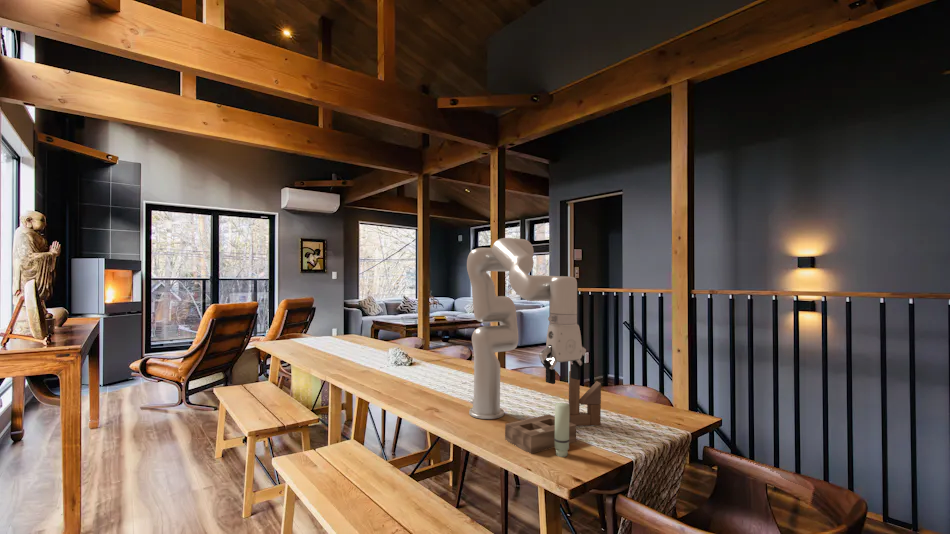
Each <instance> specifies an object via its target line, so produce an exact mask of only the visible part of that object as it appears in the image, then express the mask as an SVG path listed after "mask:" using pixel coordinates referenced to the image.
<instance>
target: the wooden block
mask: <svg viewBox="0 0 950 534" xmlns="http://www.w3.org/2000/svg"><path fill="white" fill-rule="evenodd" d="M580 383H581V379H580V380H576V379H572V378H571V370H569V372H568V404H569V422H570V423H573V424H575V425H576V427H581V426H591V425H594V426H600V425H601V424H602V423H601V421H602V420H601V417H602V416H601V415H602V414H601V412H602V411H601V410H602V408H601V407H602V405H601V404H602V403H601V402H602V383H601V382H599V381H597V380H596V381H595V382H594V384H592V385H591V386H590V387H589V389H587V391H586V392H585V393H584V394H583V395H581V396H580V394H581V393H580V391H581V387H580ZM580 405H582V406H583V405H586V409H587V410H586V412H582V411H580Z"/></svg>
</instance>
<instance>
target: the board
mask: <svg viewBox="0 0 950 534" xmlns="http://www.w3.org/2000/svg"><path fill="white" fill-rule="evenodd" d="M504 433H505V434H504V440H507V441H508V443H509V442H510V443H509V444H511V443H512V444H511V445H513V444H514V446H515V445H516V446H515V447H517V448H519V449H521V450H523V451H525V452H527V453H528V452H529V453H528V454H530V453H531V454H536V453H539V452H542V451H546V450H550V449H555V440H554V437H555V415H552V414H545V415H540V416H536V417H531V418H526V419H521V420H518V421H512V422H509V423H505V424H504ZM507 441H506V442H507ZM575 442H577V426H576V425H575V424H573V423H570V422H569V444H572V443H575ZM531 454H530V455H531Z"/></svg>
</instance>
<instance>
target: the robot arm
mask: <svg viewBox="0 0 950 534" xmlns="http://www.w3.org/2000/svg"><path fill="white" fill-rule="evenodd" d="M534 250H535V249H534V247H533V245H532V243H531V242H530V241H529V240H527V239H524V238H512V237H503V238H502V237H501V238H499V239H497V240H496V241H494V243H493V245H492V247H477V248H475V249H472V250H470V252H469V254H468V256H467V259H466V269H467V274H468V277H469V282H470V285H471V286H470V287H471V295H472V306H473V315H474V319H475V321H477V322H480V323H499V325H484V326H479V327H477V328H476V329H474V331H473V332H472V335H471V344H472V345H471V346H472V349H473V398H471V399H470V401H469V403H470V404H472V407H471V408H469V411H468V412H469V413H468V414H469V416H471V417H473V418H476V419H482V420H494V419H501V418H502V417H504V416H505V411H504V409H503V408H502V407H501V363H500V361H499V358H498V357H497V356H496V354H495V353H500V352H510V351H513V350H515V349H516V348H517V347H518V344H519V329H518V328H519V327H518V319H517V309H516V305H515V303H514V300H513V299H512V298H510V297H509V296H505V295H500V296H499V295H498V296H497V294H496V286H495V281H494V280H493V278H492V277H491V276H490V275H489V274H488V273H487V272H508V280H509V284H510V287H511V288H512V290H513V291H514V292H515V293H516V294H517V295H518V297H520V298H522V299H523V300H525V301H529V302H544V301H545V302H549V317H548V318H547V320H548V322H549V325H548V326H547V327H548V328H547V334H546V346H545V348H544V349H543V350H541V351H540V352H539V353H538V356H539V359H540V363H541V364H542V365H543V368H544V369H545V382H546V383H548V384H552V385H554V384H555V385H556V369H555V367H556V365H557V364H558V363H566V362H567V363H568V362H571V364H570V371H571V378H572V379H576V380H580V381H581V366H582V365H583V361H584V360H585V355H586V353H587V349H586V348H585V347H584V346H583V344H582V335H581V330H580V329H581V328H580V325H579V324H578V282H577V278H576V277H574V276H570V275H569V276H564V275H561V276H560V275H559V276H558V275H557V276H556V275H543V274H542V275H538V274H537V275H536V274H535V275H532V274H531V275H530V273H531V271H532V270H533V268H534V259H533V257H534Z"/></svg>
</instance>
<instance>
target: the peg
mask: <svg viewBox="0 0 950 534" xmlns="http://www.w3.org/2000/svg"><path fill="white" fill-rule="evenodd" d="M554 416H555V437H554V440H555V447H554V449H555V455H556V456H557V457H559V458H560V457H561V458H565V457H568V452H569V451H568V450H570V443H569V403H566V402H556V403H554Z"/></svg>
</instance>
